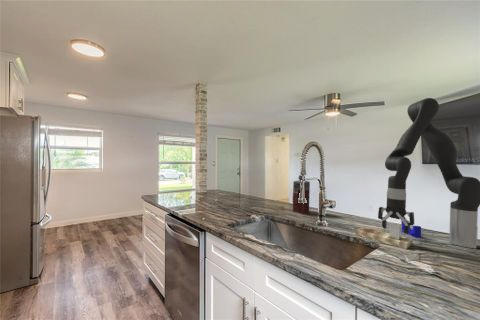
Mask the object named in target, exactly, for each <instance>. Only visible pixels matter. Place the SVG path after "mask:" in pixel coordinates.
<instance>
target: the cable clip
mask: <svg viewBox="0 0 480 320" xmlns="http://www.w3.org/2000/svg"><path fill="white" fill-rule="evenodd" d="M407 221H408V222H409V223H410V220H407ZM400 222H401V223H400V224H401V225H402V234H405V233H404V226H405V224H404V223H403V222H402V221H401V220H400ZM407 235H409V236H411V237H412V238H417V239H418V238H419V239H421V238H422V226H420V225H413V226H412V228H411V226H409V232H408V233H407Z"/></svg>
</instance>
